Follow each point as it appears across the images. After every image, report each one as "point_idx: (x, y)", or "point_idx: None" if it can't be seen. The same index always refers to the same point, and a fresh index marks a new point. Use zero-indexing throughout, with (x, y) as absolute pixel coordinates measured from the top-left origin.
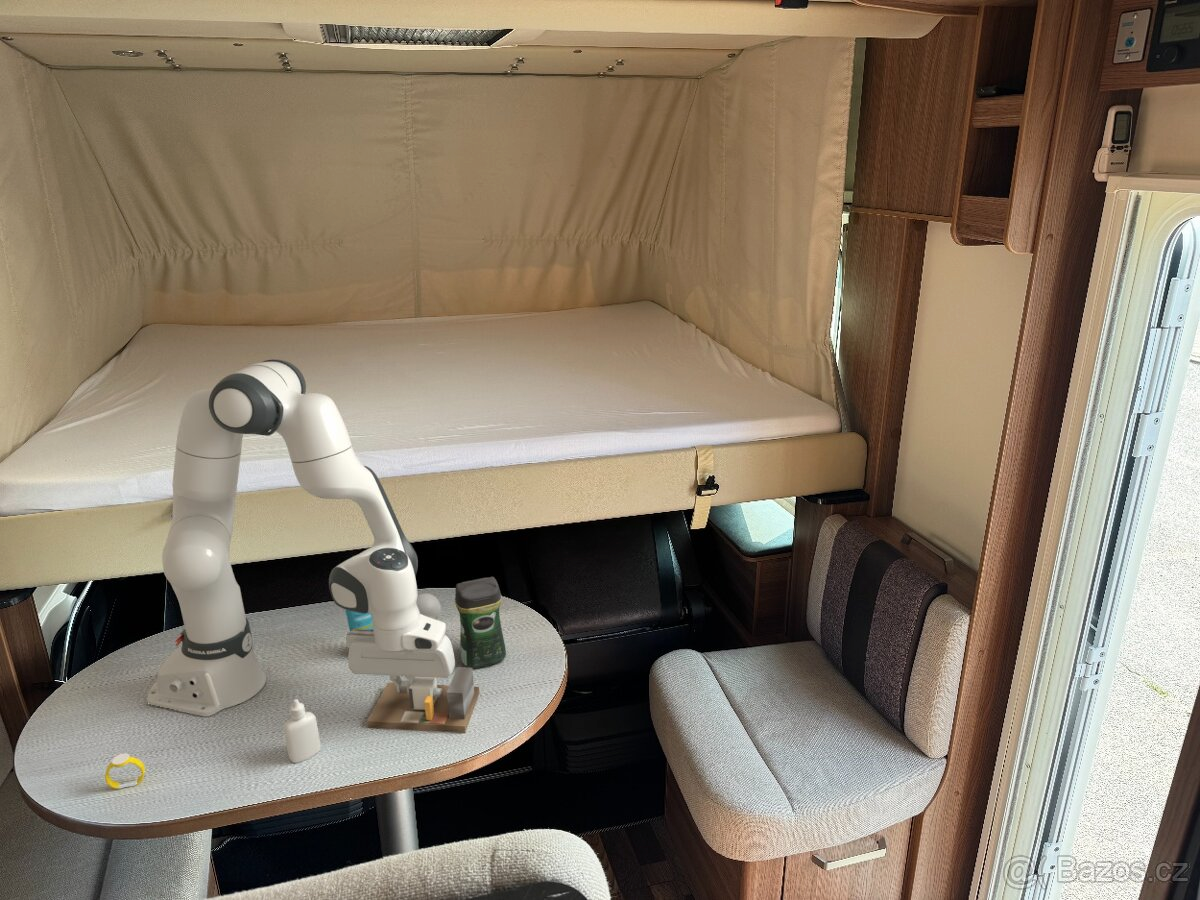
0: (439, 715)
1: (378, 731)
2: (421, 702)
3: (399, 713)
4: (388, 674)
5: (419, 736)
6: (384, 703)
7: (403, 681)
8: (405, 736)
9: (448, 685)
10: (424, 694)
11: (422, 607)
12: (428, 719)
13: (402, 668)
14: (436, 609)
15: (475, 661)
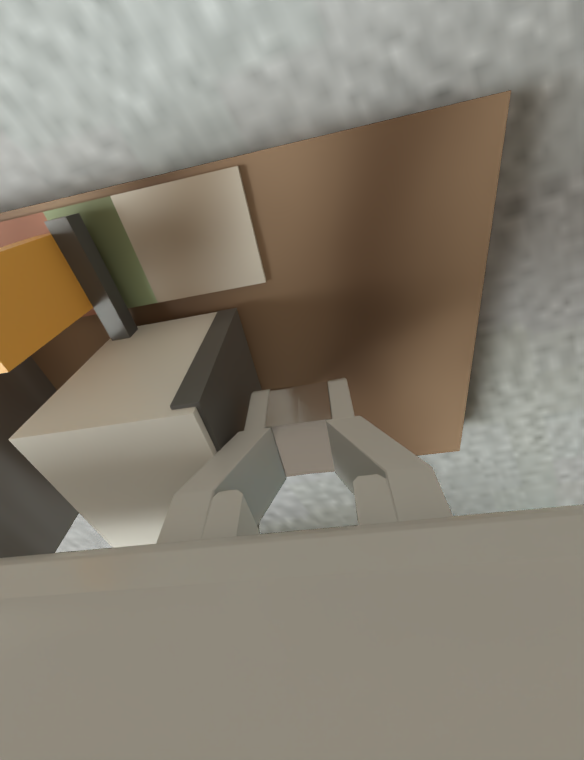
0: None
1: (388, 80)
2: (155, 345)
3: (296, 258)
4: (466, 535)
5: (87, 119)
6: (428, 319)
7: (323, 466)
8: (173, 85)
9: None
10: (94, 389)
11: None
12: (50, 233)
13: (194, 730)
14: None
15: None
